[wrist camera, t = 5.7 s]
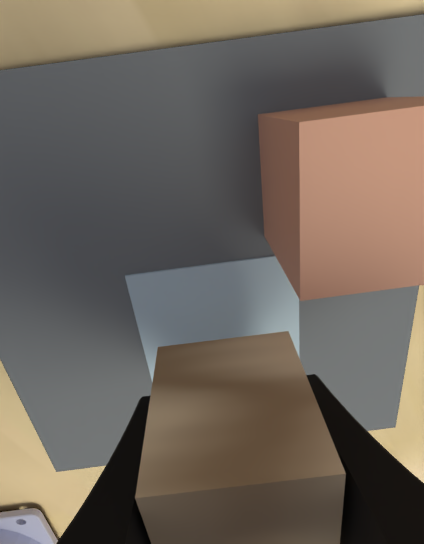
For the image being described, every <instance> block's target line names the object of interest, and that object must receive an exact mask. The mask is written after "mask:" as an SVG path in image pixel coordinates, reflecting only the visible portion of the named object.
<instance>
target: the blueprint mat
mask: <svg viewBox="0 0 424 544" xmlns="http://www.w3.org/2000/svg"><path fill="white" fill-rule="evenodd" d="M423 96H424V14H422V15H415V16H407V17H400V18H392V19H384V20H377V21H369V22H362V23H354V24H347V25H339V26H332V27H324V28H316V29H309V30H301V31H294V32H286V33H279V34H271V35H263V36H256V37H248V38H241V39H233V40H226V41H218V42H211V43H203V44H195V45H188V46H180V47H173V48H165V49H158V50H150V51H142V52H135V53H127V54H120V55H112V56H105V57H97V58H90V59H82V60H74V61H67V62H59V63H52V64H44V65H37V66H29V67H22V68H14V69H6V70H0V359H1V361H2V364H3V366H4V368H5V370H6V372H7V374H8V376H9V378H10V380H11V382H12V384H13V386H14V388H15V390H16V392H17V394H18V396H19V398H20V400H21V402H22V404H23V406H24V408H25V410H26V412H27V414H28V416H29V418H30V420H31V422H32V424H33V426H34V428H35V430H36V432H37V434H38V436H39V438H40V440H41V442H42V444H43V446H44V448H45V450H46V452H47V454H48V456H49V458H50V460H51V462H52V464H53V466H54V468H55V470H56V472H59V471H67V470H74V469H82V468H90V467H97V466H105V465H107V463H108V462H109V460H110V458H111V456H112V454H113V452H114V450H115V449H116V447H117V445H118V443H119V441H120V439H121V437H122V435H123V433H124V431H125V429H126V427H127V425H128V423H129V421H130V419H131V417H132V415H133V413H134V411H135V408H136V406H137V404H138V402H139V400H140V398H141V397H143V396H151V389H152V382H153V376H154V369H155V362H156V356H157V349H158V347H162V346H170V345H178V344H186V343H194V342H203V341H211V340H219V339H227V338H235V337H243V336H252V335H260V334H268V333H276V332H284V331H289V334H290V336H291V339H292V341H293V344H294V346H295V349H296V351H297V354H298V356H299V359H300V361H301V364H302V366H303V368H304V371H305V373H306V375H312V374H315V375H317V376H318V377H319V378H320V379H321V381H322V382H323V383H324V384H325V385H326V387H327V388H328V389H329V390H330V391H331V393H332V394H333V395H334V396H335V397H336V398H337V399H338V401H339V402H340V403H341V404H342V405H343V406H344V407H345V408H346V410H347V411H348V412H349V413H350V414H351V415H352V416H353V417H354V418H355V419H356V420H357V421H358V422H359V423H360V424H361V425H362V426H363V427H364V428H365V429H366V430H367V431H371V430H378V429H386V428H393V427H395V426H396V420H397V414H398V408H399V402H400V396H401V391H402V385H403V379H404V373H405V367H406V361H407V355H408V349H409V343H410V337H411V331H412V325H413V319H414V313H415V307H416V301H417V295H418V289H419V285H418V286H410V287H403V288H395V289H388V290H380V291H372V292H365V293H357V294H350V295H342V296H335V297H327V298H319V299H312V300H304V301H300V300H299V298H298V296H297V294H296V292H295V291H294V289H293V287H292V285H291V283H290V282H289V280H288V278H287V276H286V274H285V272H284V271H283V269H282V267H281V265H280V263H279V262H278V260H277V258H276V256H275V254H274V253H273V251H272V249H271V247H270V245H269V244H268V242H267V240H266V238H265V236H264V219H263V201H262V182H261V164H260V146H259V127H258V114H264V113H272V112H279V111H287V110H294V109H302V108H310V107H317V106H325V105H332V104H340V103H347V102H355V101H363V100H370V99H378V98H385V97H423Z"/></svg>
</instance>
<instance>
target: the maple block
mask: <svg viewBox="0 0 424 544" xmlns="http://www.w3.org/2000/svg"><path fill="white" fill-rule="evenodd" d="M345 478H346V473H345V470H344V468H343V465H342V463H341V460H340V458H339V455H338V453H337V450H336V448H335V445H334V443H333V441H332V438H331V436H330V433H329V431H328V428H327V426H326V423H325V421H324V418H323V416H322V413H321V411H320V408H319V406H318V403H317V401H316V398H315V396H314V393H313V391H312V388H311V386H310V383H309V381H308V378H307V376H306V373H305V371H304V368H303V366H302V364H301V361H300V359H299V356H298V354H297V351H296V349H295V346H294V344H293V341H292V339H291V336H290V334H289V331H284V332H276V333H268V334H260V335H252V336H243V337H235V338H227V339H219V340H211V341H203V342H194V343H186V344H178V345H170V346H162V347H158V349H157V356H156V362H155V369H154V376H153V382H152V389H151V396H150V402H149V409H148V415H147V422H146V429H145V435H144V442H143V449H142V455H141V462H140V469H139V475H138V482H137V488H136V495H135V500H136V502H137V505H138V508H139V511H140V514H141V516H142V519H143V522H144V525H145V527H146V530H147V533H148V536H149V539H150V541H151V544H340V536H341V524H342V513H343V501H344V490H345Z"/></svg>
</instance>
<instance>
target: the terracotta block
mask: <svg viewBox="0 0 424 544" xmlns="http://www.w3.org/2000/svg"><path fill="white" fill-rule="evenodd" d="M258 127H259V146H260V164H261V182H262V201H263V219H264V236H265V238H266V240H267V242H268V244H269V245H270V247H271V249H272V251H273V253H274V254H275V256H276V258H277V260H278V262H279V263H280V265H281V267H282V269H283V271H284V272H285V274H286V276H287V278H288V280H289V282H290V283H291V285H292V287H293V289H294V291H295V292H296V294H297V296H298V298H299V300H300V301H304V300H312V299H319V298H327V297H335V296H342V295H350V294H357V293H365V292H372V291H380V290H388V289H395V288H403V287H410V286H418V285H424V96H423V97H385V98H378V99H370V100H363V101H355V102H347V103H340V104H332V105H325V106H317V107H310V108H302V109H294V110H287V111H279V112H272V113H264V114H258Z"/></svg>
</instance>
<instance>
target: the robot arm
mask: <svg viewBox="0 0 424 544" xmlns="http://www.w3.org/2000/svg"><path fill="white" fill-rule="evenodd" d="M306 376H307V378H308V381H309V383H310V386H311V388H312V391H313V393H314V396H315V398H316V401H317V403H318V406H319V408H320V411H321V413H322V416H323V418H324V421H325V423H326V426H327V428H328V431H329V433H330V436H331V438H332V441H333V443H334V445H335V448H336V450H337V453H338V455H339V458H340V460H341V463H342V465H343V468H344V470H345V473H346V478H345V490H344V501H343V513H342V524H341V536H340V544H424V483H423V482H421V481H420V480H419V479H418V478H417V477H416V476H414V475H413V474H412V473H411V472H410V471H409V470H408V469H406V468H405V467H404V466H403V465H402V464H401V463H400V462H399V461H398V460H397V459H395V458H394V457H393V456H392V455H391V454H390V453H389V452H388V451H387V450H386V449H385V448H384V447H383V446H382V445H381V444H380V443H379V442H378V441H377V440H375V439H374V438H373V437H372V436H371V435H370V434H369V433H368V431H367V430H366V429H365V428H364V427H363V426H362V425H361V424H360V423H359V422H358V421H357V420H356V419H355V418H354V417H353V416H352V415H351V414H350V413H349V412H348V411H347V410H346V408H345V407H344V406H343V405H342V404H341V403H340V402H339V401H338V399H337V398H336V397H335V396H334V395H333V394H332V393H331V391H330V390H329V389H328V388H327V387H326V385H325V384H324V383H323V382H322V381H321V379H320V378H319V377H318V376H317V375H315V374H312V375H306ZM149 402H150V396H143V397H141V398H140V400H139V402H138V404H137V406H136V408H135V411H134V413H133V415H132V417H131V419H130V421H129V423H128V425H127V427H126V429H125V431H124V433H123V435H122V437H121V439H120V441H119V443H118V445H117V447H116V449H115V450H114V452H113V454H112V456H111V458H110V460H109V462H108V463H107V465H106V467H105V469H104V470H103V472H102V474H101V475H100V477H99V479H98V480H97V482H96V484H95V485H94V487H93V489H92V490H91V492H90V494H89V495H88V497H87V499H86V500H85V502H84V503H83V505H82V506H81V508H80V510H79V511H78V513H77V514H76V516H75V517H74V519H73V520H72V522H71V523H70V525H69V526H68V527H67V529H66V530H65V532H64V533H63V535H62V536H61V538H60V539H59V540H57V538H56V537H55V535H54V533H53V531H52V530H51V528H50V526H49V524H48V523H47V521H46V519H45V517H44V516H43V514H42V512H41V511H40V510H38V509H35V508H28V509H21V510H13V511H5V512H0V544H151V541H150V539H149V536H148V533H147V530H146V527H145V525H144V522H143V519H142V516H141V514H140V511H139V508H138V505H137V502H136V500H135V495H136V488H137V482H138V475H139V469H140V462H141V455H142V449H143V442H144V435H145V429H146V422H147V415H148V409H149Z"/></svg>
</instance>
